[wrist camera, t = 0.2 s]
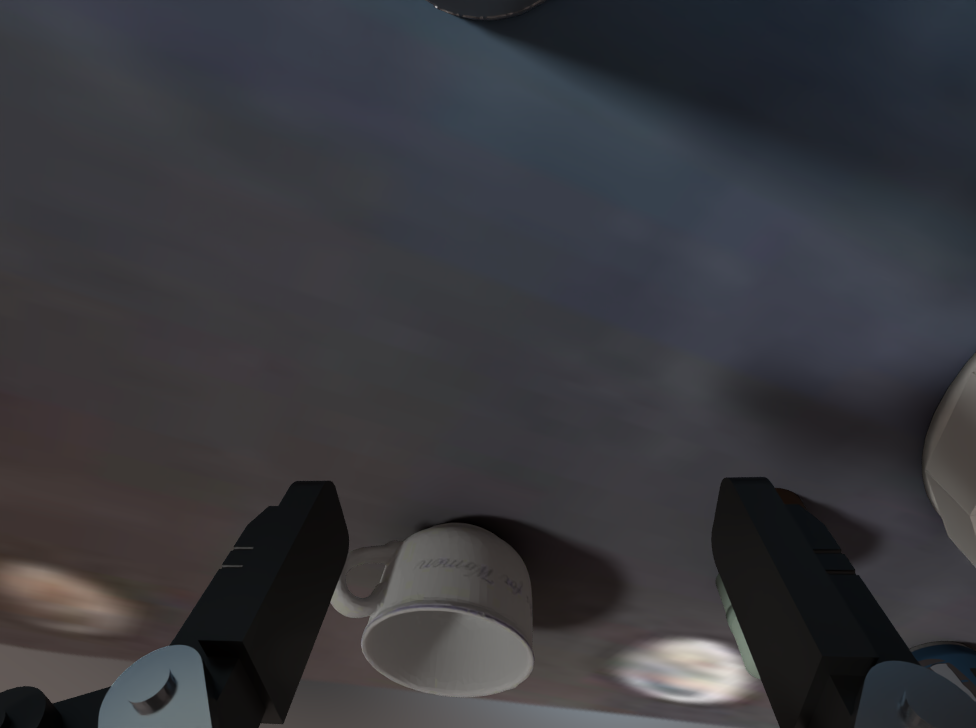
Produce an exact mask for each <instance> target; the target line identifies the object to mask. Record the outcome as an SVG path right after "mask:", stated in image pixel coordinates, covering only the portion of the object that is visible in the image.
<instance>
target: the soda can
mask: <svg viewBox="0 0 976 728" xmlns="http://www.w3.org/2000/svg"><path fill="white" fill-rule="evenodd" d="M909 650H910V651H911V653H912V654H913V656H914V657H915V658H916V660H917V661H918V662H919V664H920V665H921V666H922V667H925V668H927V669H929V670H932V671H934V672H936V673H938V674H939V675H941V676H943V677H945V678H946V679H948V680H949V681H951V682H952V683H954V684H955V685H957V686H958V687H959V688H961V689H962V690H963V691H964V692H966V693H967V694H968V695H969V696H970V697H971V698H972V699H973V700H974V701H975V702H976V651H974V650H972V649H971V648H969V647H967V646H965V645H963V644H960V643H956V642H949V641H939V642H930V643H925V644H921V645H918V646H915V647H913V648H911V649H909Z"/></svg>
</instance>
